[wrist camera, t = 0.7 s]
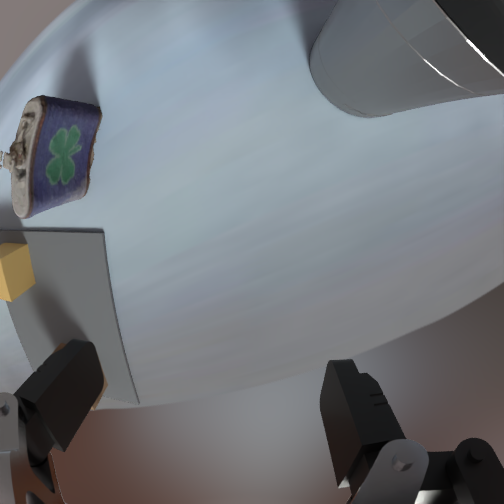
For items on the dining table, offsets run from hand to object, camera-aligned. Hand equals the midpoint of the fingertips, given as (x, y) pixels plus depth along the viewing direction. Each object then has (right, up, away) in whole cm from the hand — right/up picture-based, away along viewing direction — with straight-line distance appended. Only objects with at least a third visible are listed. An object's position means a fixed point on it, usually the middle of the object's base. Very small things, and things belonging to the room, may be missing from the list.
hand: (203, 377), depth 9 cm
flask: (-14, +14, +14) cm, 24 cm away
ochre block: (-27, +3, +17) cm, 32 cm away
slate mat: (-23, -5, +20) cm, 31 cm away
